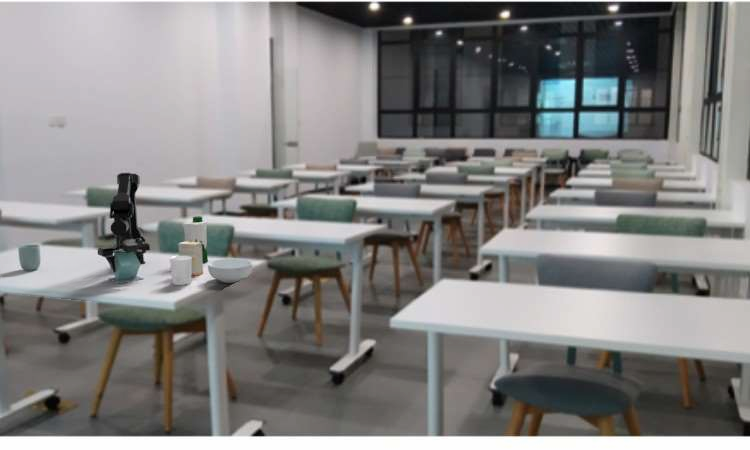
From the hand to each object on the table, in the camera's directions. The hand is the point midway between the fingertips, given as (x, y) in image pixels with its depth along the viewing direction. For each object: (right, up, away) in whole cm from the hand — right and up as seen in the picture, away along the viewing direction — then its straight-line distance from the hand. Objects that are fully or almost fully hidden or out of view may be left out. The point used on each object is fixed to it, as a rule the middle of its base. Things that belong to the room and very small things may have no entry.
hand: (125, 270), depth 258 cm
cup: (-46, -1, +16) cm, 49 cm away
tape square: (0, -3, +1) cm, 4 cm away
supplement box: (+23, -2, +9) cm, 25 cm away
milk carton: (+20, +1, +30) cm, 36 cm away
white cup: (+24, -5, -5) cm, 25 cm away
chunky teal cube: (-2, -1, +2) cm, 3 cm away
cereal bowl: (+42, -4, -1) cm, 42 cm away
